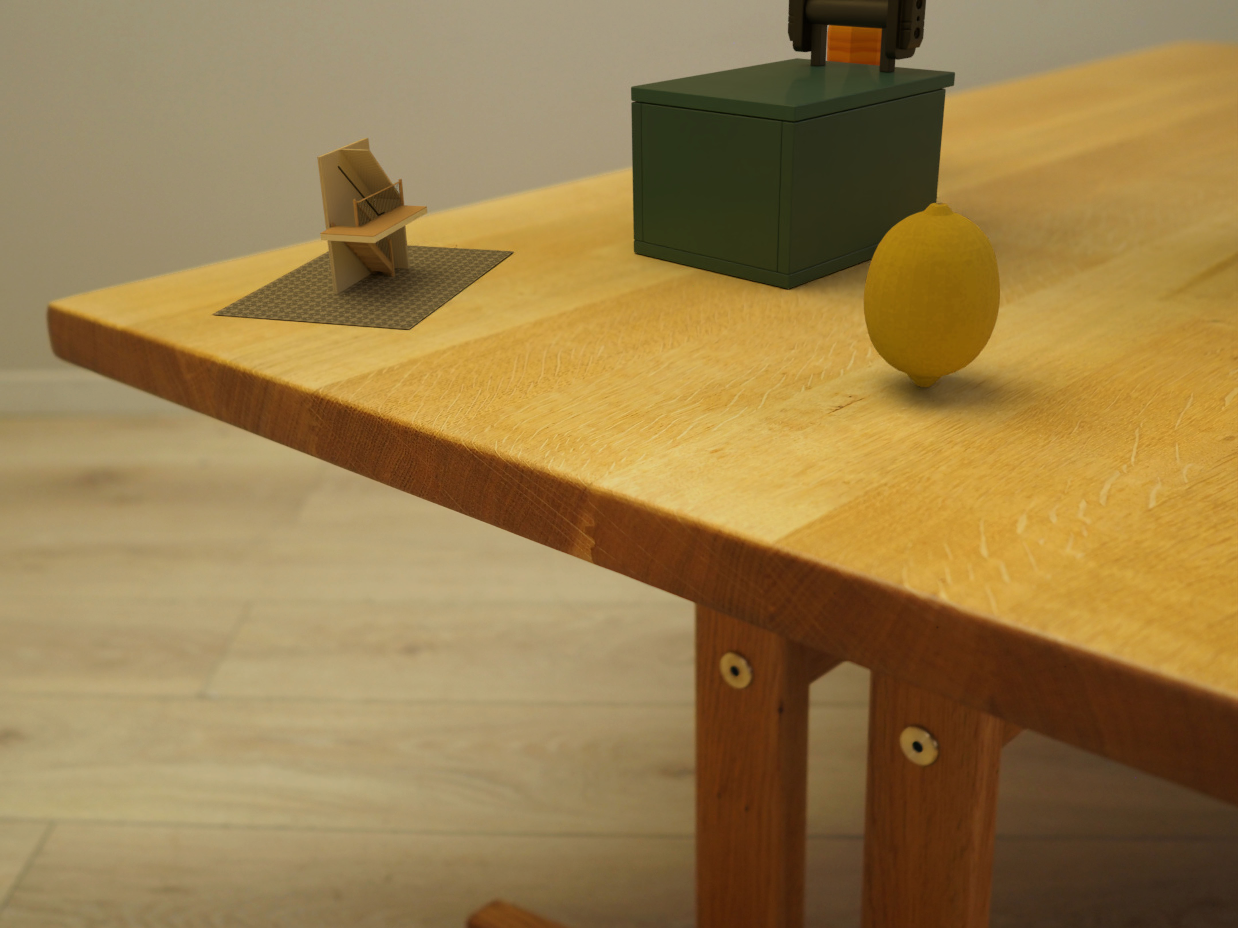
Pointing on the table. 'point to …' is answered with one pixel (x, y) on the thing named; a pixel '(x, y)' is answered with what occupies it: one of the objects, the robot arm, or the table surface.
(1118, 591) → the table surface
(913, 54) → the robot arm
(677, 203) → the bin
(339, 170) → the architectural model
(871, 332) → the lemon
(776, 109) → the bin lid
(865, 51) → the carrot
